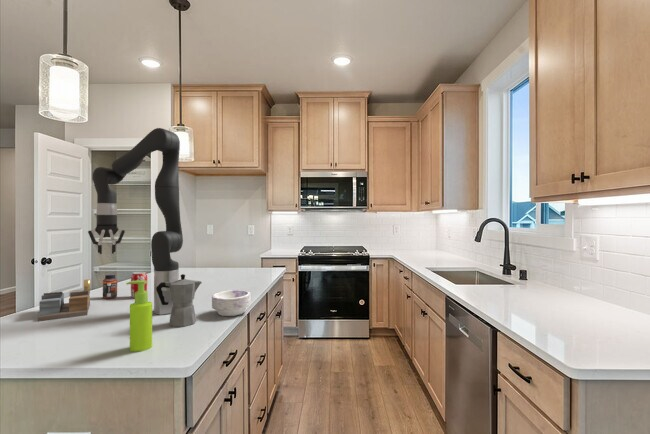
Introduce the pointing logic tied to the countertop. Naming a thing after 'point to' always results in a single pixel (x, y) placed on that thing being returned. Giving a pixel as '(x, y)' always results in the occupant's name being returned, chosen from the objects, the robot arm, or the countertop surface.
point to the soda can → (134, 287)
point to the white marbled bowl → (231, 302)
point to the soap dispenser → (140, 319)
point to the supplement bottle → (109, 286)
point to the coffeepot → (180, 301)
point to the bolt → (86, 287)
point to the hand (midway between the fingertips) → (106, 253)
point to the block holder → (63, 305)
